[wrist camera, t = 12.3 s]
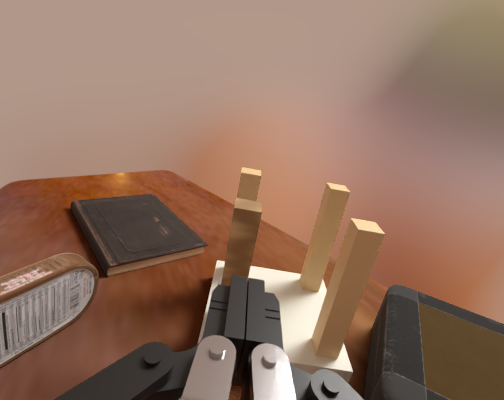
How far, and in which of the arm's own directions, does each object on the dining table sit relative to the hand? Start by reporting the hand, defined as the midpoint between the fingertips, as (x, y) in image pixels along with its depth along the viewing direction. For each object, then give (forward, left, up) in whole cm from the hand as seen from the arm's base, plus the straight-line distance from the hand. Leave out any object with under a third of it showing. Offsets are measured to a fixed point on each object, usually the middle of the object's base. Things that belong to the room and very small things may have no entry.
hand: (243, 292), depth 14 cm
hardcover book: (-40, +10, -20) cm, 46 cm away
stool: (-11, +17, -19) cm, 28 cm away
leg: (-11, +9, -16) cm, 21 cm away
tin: (-21, -7, -20) cm, 30 cm away
